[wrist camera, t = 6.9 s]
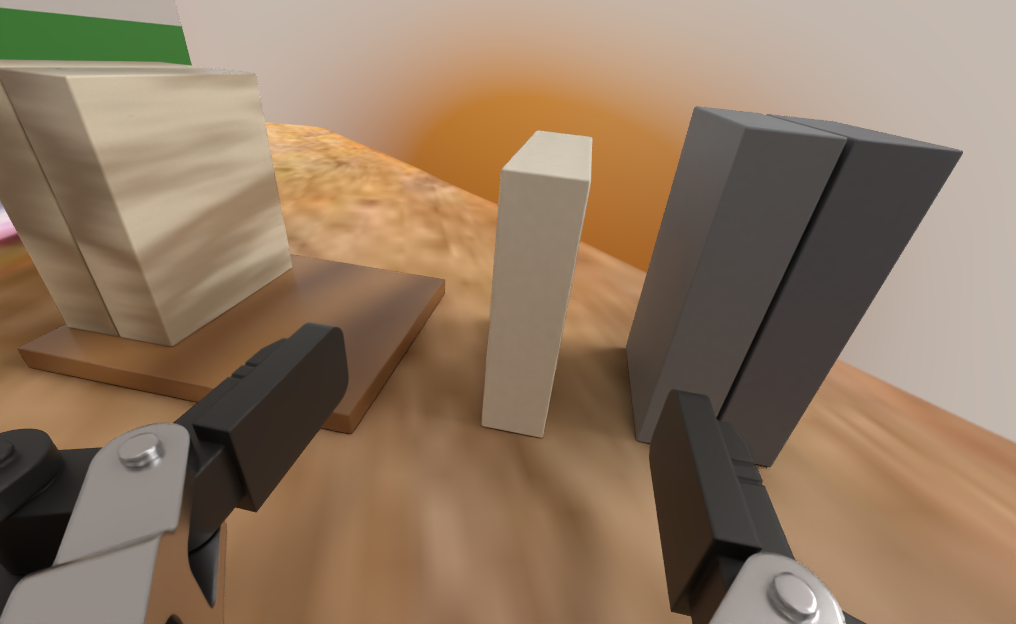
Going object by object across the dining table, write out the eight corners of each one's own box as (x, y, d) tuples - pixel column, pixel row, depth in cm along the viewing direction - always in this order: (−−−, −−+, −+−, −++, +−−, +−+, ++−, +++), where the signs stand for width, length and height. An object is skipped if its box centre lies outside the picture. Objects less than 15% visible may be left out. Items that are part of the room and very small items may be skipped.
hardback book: (201, 155, 58) (138, -76, 46) (217, 167, 54) (153, -85, 41) (14, 167, 47) (-136, -136, 34) (17, 183, 42) (-154, -156, 30)
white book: (558, 327, 28) (592, 137, 22) (542, 438, 20) (591, 180, 14) (514, 320, 29) (536, 130, 23) (480, 426, 20) (501, 168, 14)
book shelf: (445, 293, 31) (448, 91, 24) (351, 435, 19) (305, 115, 12) (234, 258, 33) (181, 61, 26) (27, 367, 21) (-169, 55, 14)
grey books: (725, 364, 26) (834, 121, 19) (771, 467, 20) (965, 151, 12) (625, 347, 27) (694, 106, 20) (635, 441, 20) (746, 125, 13)
